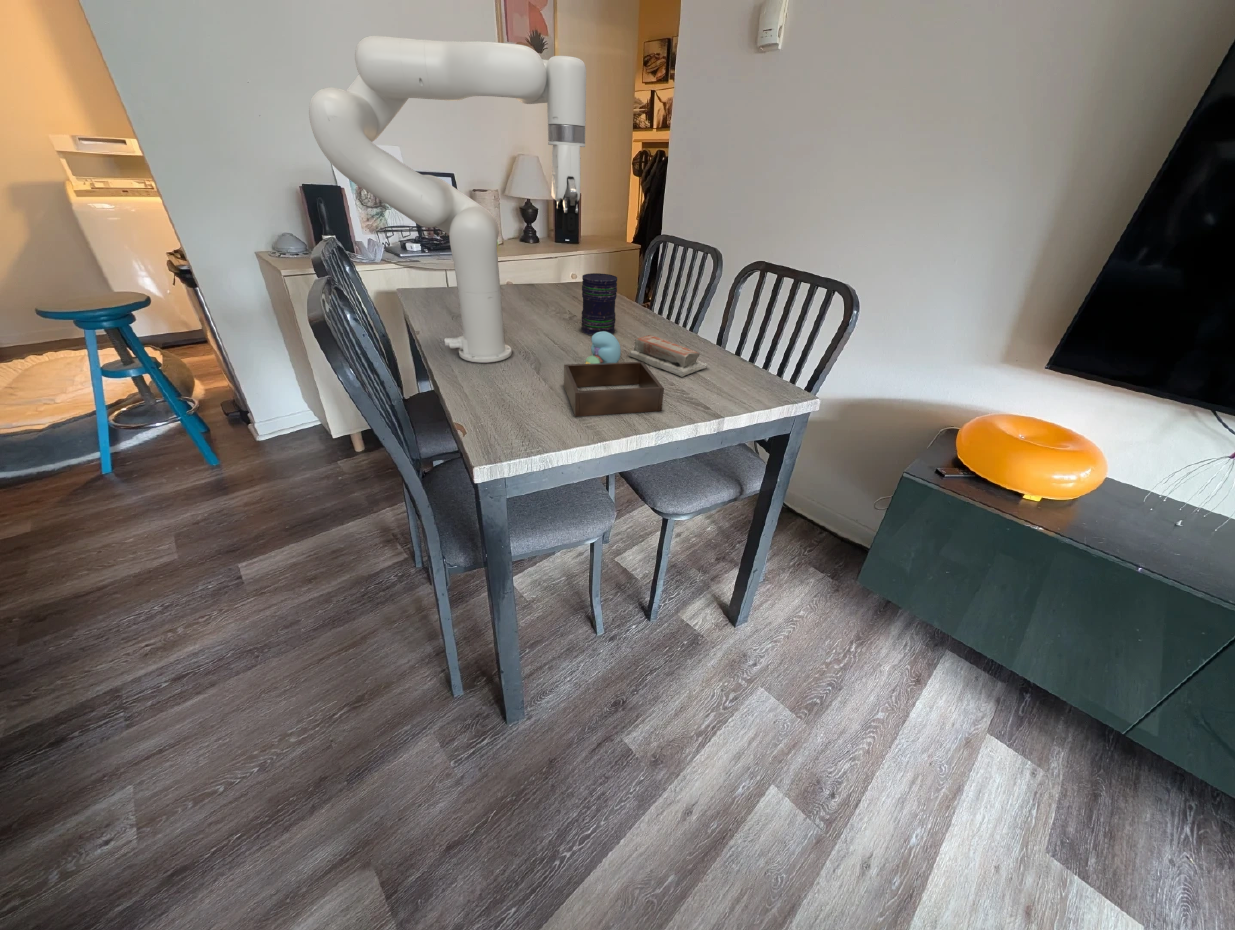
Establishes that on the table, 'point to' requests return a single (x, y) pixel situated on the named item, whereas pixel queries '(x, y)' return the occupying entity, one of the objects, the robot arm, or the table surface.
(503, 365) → the table surface
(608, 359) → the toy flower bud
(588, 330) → the storage jar
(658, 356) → the packaged product
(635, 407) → the crate
